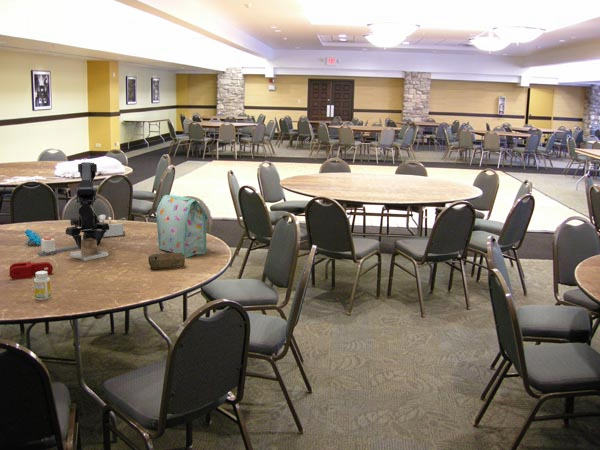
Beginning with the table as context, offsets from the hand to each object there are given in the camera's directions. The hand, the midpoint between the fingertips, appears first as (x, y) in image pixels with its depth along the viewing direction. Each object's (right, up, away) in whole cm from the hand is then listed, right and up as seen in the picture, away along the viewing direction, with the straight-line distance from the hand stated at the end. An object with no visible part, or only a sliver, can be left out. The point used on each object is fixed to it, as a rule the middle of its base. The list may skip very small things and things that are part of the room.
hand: (88, 247), depth 274 cm
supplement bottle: (+3, -16, -56) cm, 58 cm away
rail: (-16, -2, +7) cm, 17 cm away
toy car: (-4, +5, +44) cm, 45 cm away
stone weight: (+39, -9, -15) cm, 42 cm away
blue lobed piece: (-33, 0, +18) cm, 37 cm away
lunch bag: (+40, -3, +12) cm, 42 cm away
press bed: (0, -4, +1) cm, 4 cm away
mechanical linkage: (-13, -11, -30) cm, 34 cm away
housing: (0, -2, 0) cm, 3 cm away
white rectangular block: (-19, -2, +2) cm, 20 cm away
